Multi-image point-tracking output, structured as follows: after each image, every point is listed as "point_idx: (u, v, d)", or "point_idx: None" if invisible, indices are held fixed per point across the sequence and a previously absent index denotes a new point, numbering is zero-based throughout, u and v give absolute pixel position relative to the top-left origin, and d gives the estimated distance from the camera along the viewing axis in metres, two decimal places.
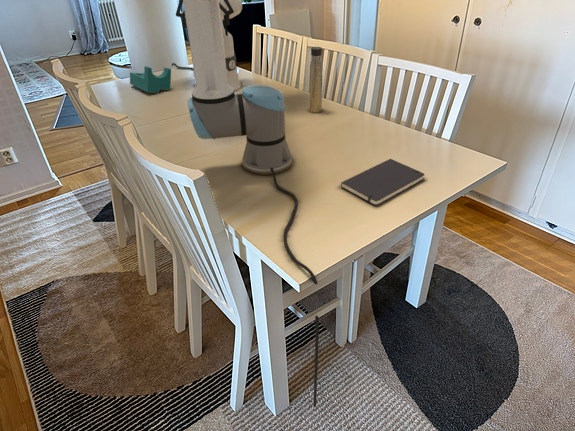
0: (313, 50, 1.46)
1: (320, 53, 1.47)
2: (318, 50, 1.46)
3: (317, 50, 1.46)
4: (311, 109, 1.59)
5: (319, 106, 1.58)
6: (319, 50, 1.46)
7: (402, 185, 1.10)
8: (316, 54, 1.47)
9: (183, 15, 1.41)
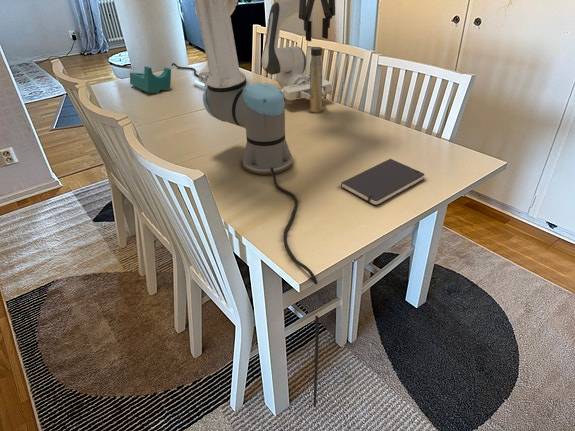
0: (313, 50, 1.46)
1: (320, 53, 1.47)
2: (318, 50, 1.46)
3: (317, 50, 1.46)
4: (311, 109, 1.59)
5: (319, 106, 1.58)
6: (319, 50, 1.46)
7: (402, 185, 1.10)
8: (316, 54, 1.47)
9: None
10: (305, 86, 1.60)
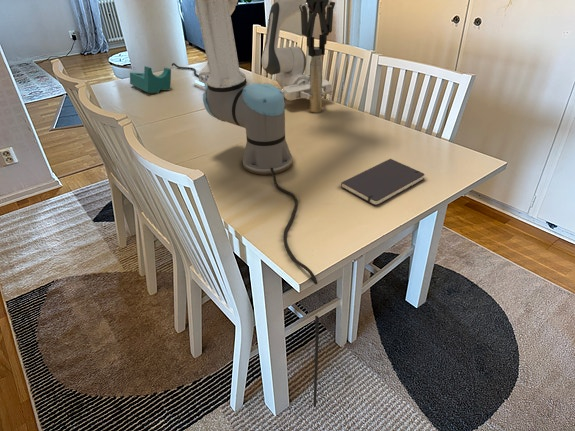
0: None
1: (320, 53, 1.47)
2: (318, 50, 1.46)
3: (317, 50, 1.46)
4: (311, 109, 1.59)
5: (319, 106, 1.58)
6: (319, 50, 1.46)
7: (402, 185, 1.10)
8: (316, 54, 1.47)
9: None
10: (305, 86, 1.60)
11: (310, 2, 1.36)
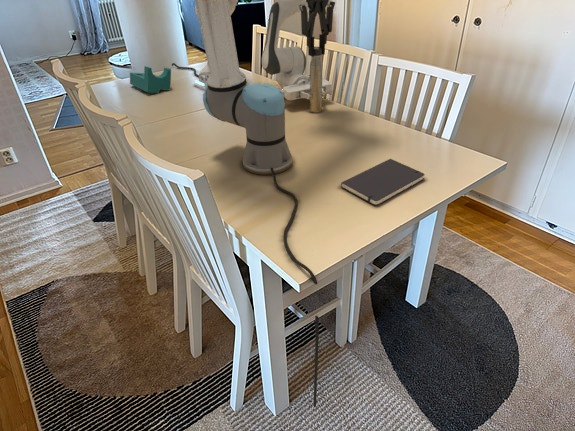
0: (320, 49, 1.46)
1: None
2: None
3: (321, 48, 1.47)
4: (311, 109, 1.59)
5: (319, 106, 1.58)
6: None
7: (402, 185, 1.10)
8: (321, 52, 1.48)
9: None
10: (305, 86, 1.60)
11: (310, 2, 1.36)
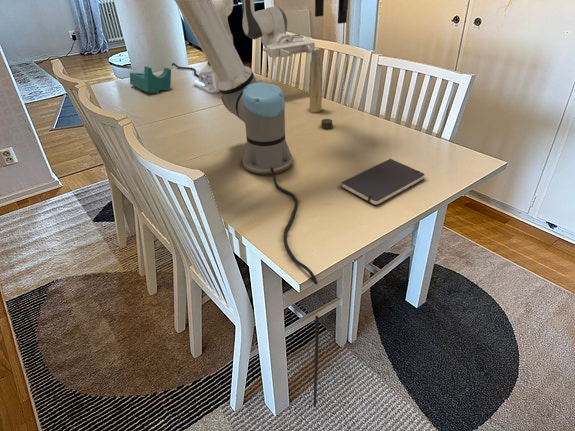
0: (330, 123, 1.45)
1: None
2: None
3: None
4: (311, 109, 1.59)
5: (319, 106, 1.58)
6: None
7: (402, 185, 1.10)
8: None
9: None
10: (288, 44, 1.63)
11: None
